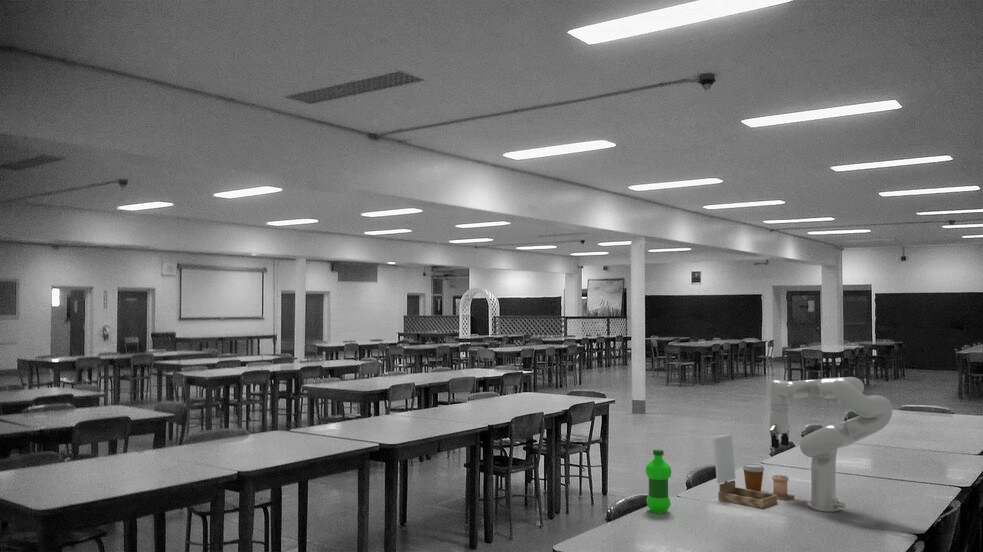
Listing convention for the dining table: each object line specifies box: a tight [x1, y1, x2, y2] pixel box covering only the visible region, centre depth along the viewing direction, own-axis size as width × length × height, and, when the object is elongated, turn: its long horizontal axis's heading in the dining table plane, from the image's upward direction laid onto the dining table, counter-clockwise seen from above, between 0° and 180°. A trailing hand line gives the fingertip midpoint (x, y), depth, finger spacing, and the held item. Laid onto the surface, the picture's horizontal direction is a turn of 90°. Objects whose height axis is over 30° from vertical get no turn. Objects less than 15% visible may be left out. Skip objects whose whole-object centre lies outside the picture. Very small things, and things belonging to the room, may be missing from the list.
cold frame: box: [717, 480, 778, 510], centre depth 324 cm, size 22×14×20 cm, turn 44°
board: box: [769, 491, 795, 502], centre depth 331 cm, size 9×9×2 cm
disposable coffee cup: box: [742, 463, 765, 492], centre depth 343 cm, size 10×10×12 cm
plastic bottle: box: [645, 448, 672, 514], centre depth 308 cm, size 10×10×25 cm
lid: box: [712, 433, 736, 484], centre depth 331 cm, size 20×15×1 cm
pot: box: [771, 474, 790, 497], centre depth 331 cm, size 7×7×8 cm
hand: (780, 446), depth 332 cm, fingers open, 9 cm apart
